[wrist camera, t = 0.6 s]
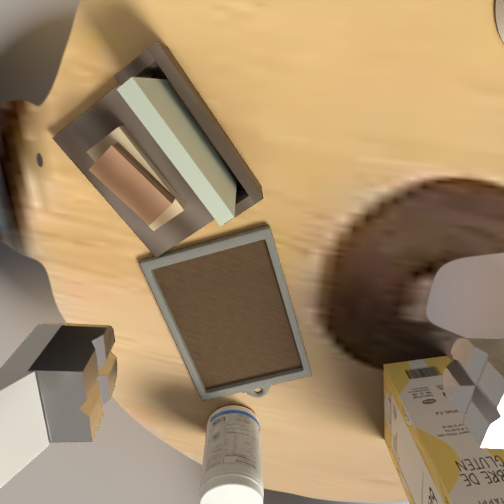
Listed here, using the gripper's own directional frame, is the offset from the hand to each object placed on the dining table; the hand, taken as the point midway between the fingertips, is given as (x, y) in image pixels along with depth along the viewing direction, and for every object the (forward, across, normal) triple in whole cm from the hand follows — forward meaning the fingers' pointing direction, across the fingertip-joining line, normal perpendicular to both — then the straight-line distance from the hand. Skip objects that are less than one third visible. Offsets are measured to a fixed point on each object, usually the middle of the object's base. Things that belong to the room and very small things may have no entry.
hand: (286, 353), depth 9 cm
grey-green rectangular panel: (+41, +6, 0) cm, 42 cm away
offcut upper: (+38, +13, +5) cm, 40 cm away
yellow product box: (+42, -32, +42) cm, 67 cm away
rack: (+41, +10, +3) cm, 43 cm away
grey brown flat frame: (+42, 0, +28) cm, 51 cm away
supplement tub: (+42, -1, +49) cm, 65 cm away
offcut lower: (+40, +13, +5) cm, 43 cm away
